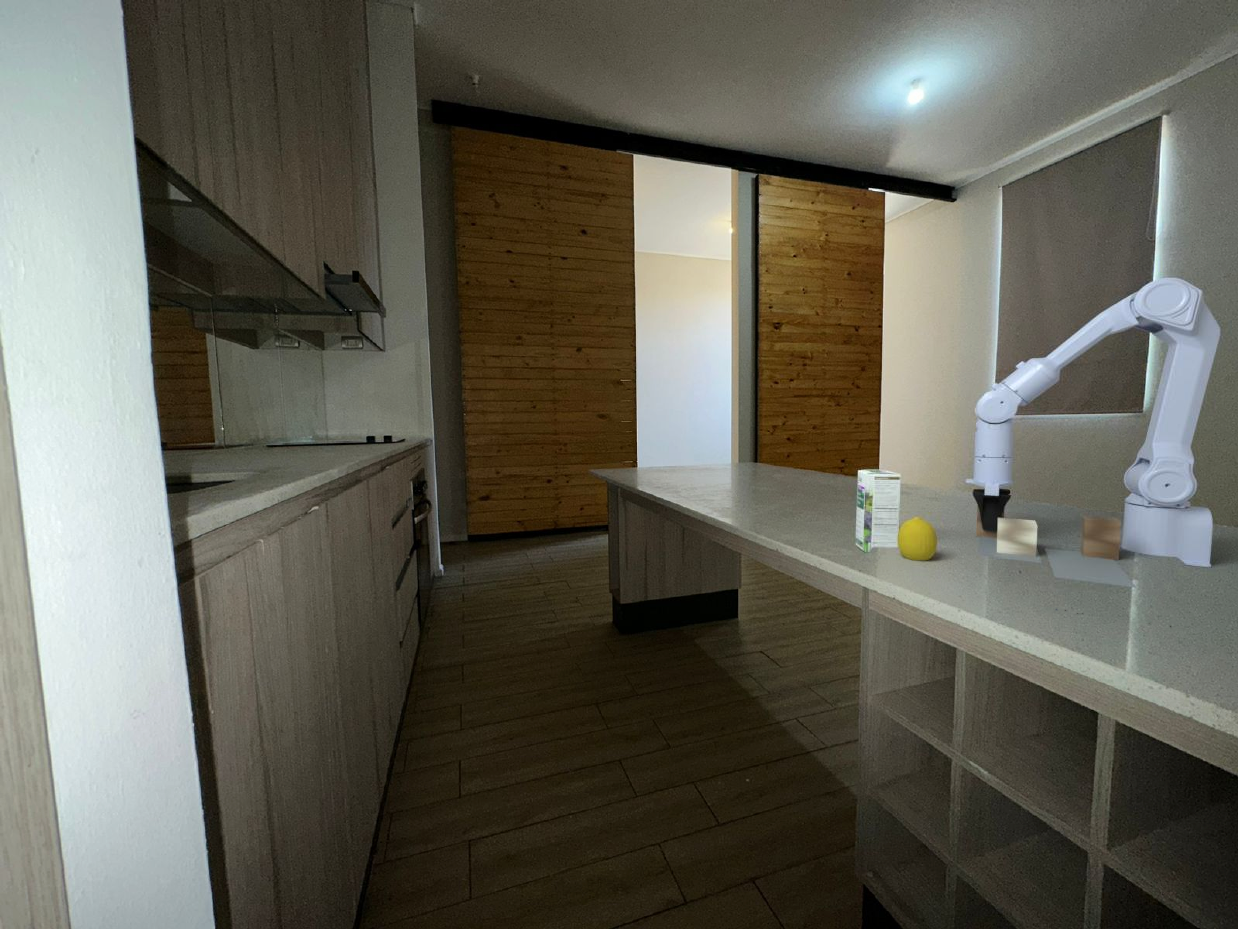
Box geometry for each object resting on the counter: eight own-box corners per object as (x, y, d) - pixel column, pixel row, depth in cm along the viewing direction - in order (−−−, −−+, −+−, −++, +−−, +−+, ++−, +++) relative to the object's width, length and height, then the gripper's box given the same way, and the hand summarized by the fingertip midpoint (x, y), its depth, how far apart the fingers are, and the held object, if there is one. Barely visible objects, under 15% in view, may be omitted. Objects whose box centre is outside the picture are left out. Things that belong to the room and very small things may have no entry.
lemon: (944, 569, 78) (945, 519, 77) (908, 570, 78) (909, 520, 77) (923, 559, 83) (924, 513, 83) (890, 560, 84) (891, 513, 83)
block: (1033, 549, 83) (1035, 520, 83) (1036, 556, 79) (1037, 526, 79) (996, 545, 86) (997, 517, 86) (996, 552, 82) (998, 522, 82)
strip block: (1033, 543, 91) (1035, 506, 90) (1041, 568, 76) (1043, 524, 76) (976, 538, 96) (978, 502, 95) (973, 560, 82) (975, 518, 81)
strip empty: (1114, 561, 79) (1117, 518, 78) (1141, 595, 65) (1144, 542, 64) (1044, 554, 84) (1046, 513, 83) (1054, 583, 70) (1057, 535, 69)
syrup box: (854, 545, 94) (855, 469, 92) (887, 545, 93) (889, 468, 92) (864, 553, 88) (866, 472, 87) (900, 553, 87) (902, 472, 86)
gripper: (968, 453, 100) (965, 519, 101) (965, 459, 89) (962, 533, 90) (1012, 454, 96) (1009, 523, 97) (1015, 460, 84) (1011, 538, 86)
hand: (989, 528), depth 93 cm, fingers closed on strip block, 3 cm apart
